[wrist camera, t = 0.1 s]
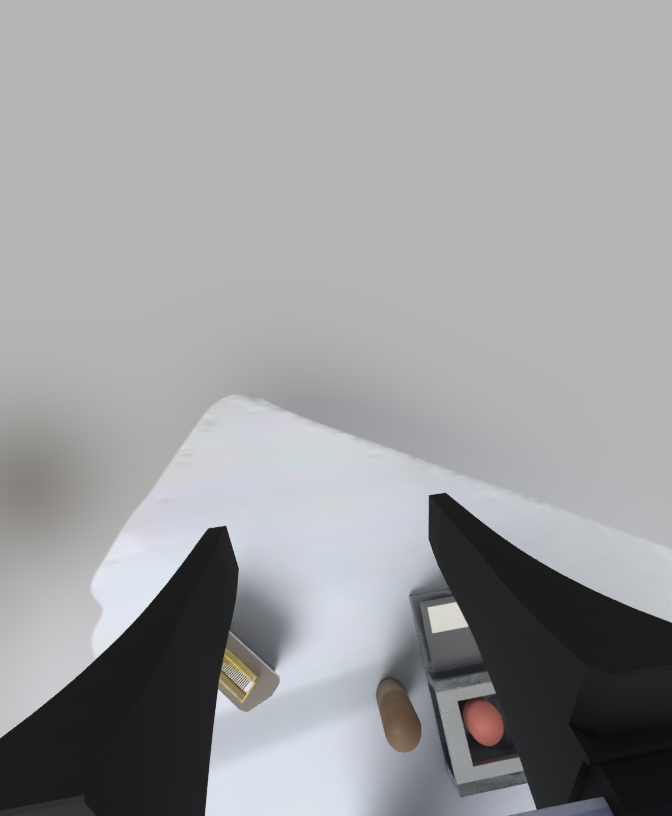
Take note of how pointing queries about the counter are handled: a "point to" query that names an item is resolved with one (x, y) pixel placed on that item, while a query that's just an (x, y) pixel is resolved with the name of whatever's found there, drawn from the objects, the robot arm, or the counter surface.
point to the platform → (246, 675)
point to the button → (483, 721)
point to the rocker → (448, 634)
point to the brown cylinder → (398, 716)
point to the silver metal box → (449, 692)
